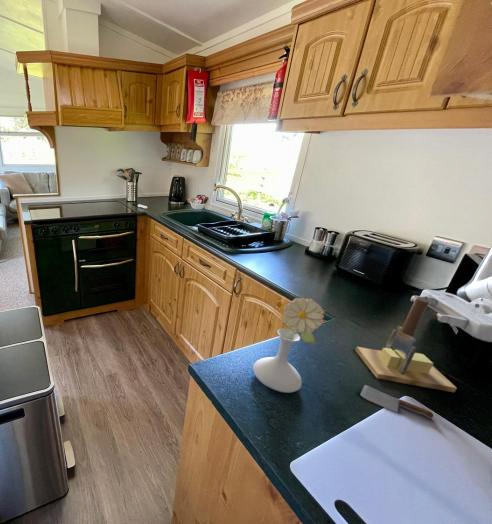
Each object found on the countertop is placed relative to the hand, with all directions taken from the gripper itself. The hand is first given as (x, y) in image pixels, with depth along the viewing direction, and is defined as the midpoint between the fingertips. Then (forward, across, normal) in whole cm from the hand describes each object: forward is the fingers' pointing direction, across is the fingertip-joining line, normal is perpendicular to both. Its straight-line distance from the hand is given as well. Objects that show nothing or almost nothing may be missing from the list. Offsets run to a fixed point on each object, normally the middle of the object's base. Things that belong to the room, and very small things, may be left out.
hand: (424, 307), depth 74 cm
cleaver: (+9, +16, +20) cm, 27 cm away
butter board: (-1, 0, +20) cm, 20 cm away
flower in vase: (+35, +16, +20) cm, 43 cm away
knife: (+2, 0, +14) cm, 14 cm away
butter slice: (+3, 0, +18) cm, 18 cm away
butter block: (-2, 0, +18) cm, 18 cm away
